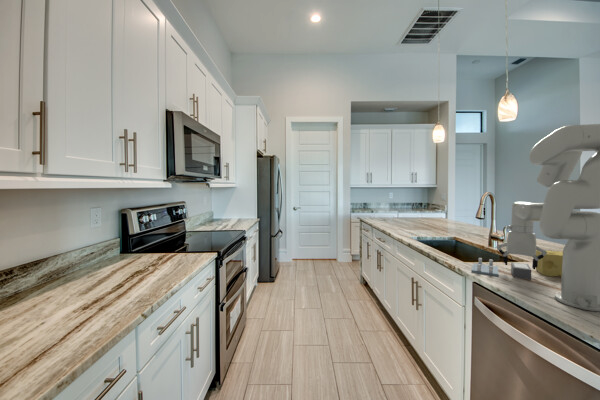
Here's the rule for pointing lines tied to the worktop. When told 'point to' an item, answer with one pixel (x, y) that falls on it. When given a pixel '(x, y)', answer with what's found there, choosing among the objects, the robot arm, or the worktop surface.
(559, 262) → the cheese
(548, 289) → the worktop surface
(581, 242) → the robot arm
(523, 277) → the block
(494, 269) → the grey piece
